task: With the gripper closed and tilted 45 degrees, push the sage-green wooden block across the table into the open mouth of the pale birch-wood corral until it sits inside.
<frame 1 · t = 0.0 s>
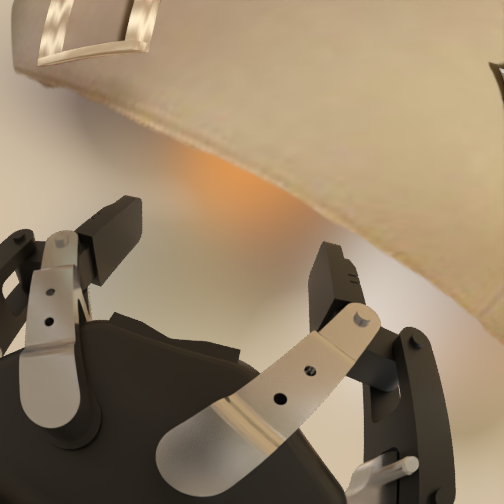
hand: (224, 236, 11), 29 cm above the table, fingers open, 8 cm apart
birch corral: (102, 20, 26), on the table
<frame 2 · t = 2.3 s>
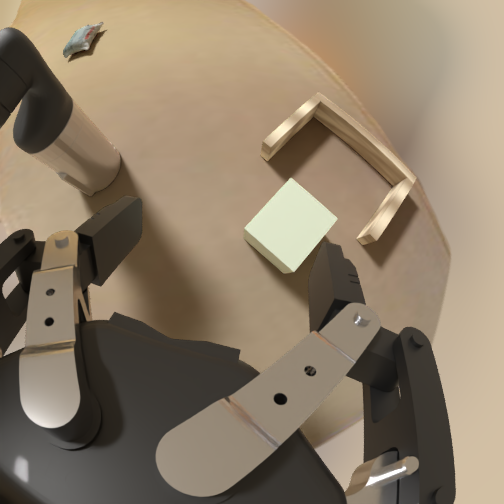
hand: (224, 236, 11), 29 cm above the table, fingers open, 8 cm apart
sage block: (282, 233, 41), on the table
packaged food: (86, 44, 45), on the table
birch corral: (337, 170, 43), on the table
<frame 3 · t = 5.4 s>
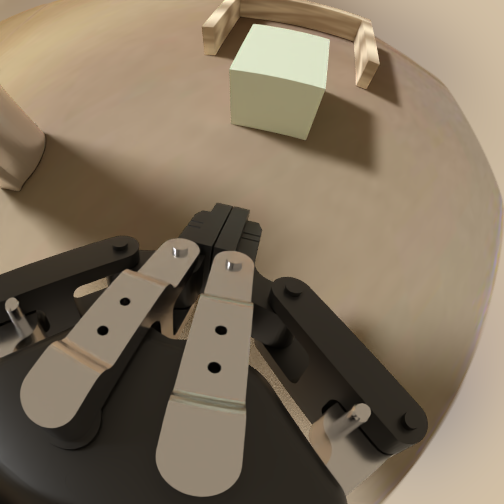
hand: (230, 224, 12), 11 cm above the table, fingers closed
sage block: (275, 103, 27), on the table
birch corral: (293, 40, 30), on the table
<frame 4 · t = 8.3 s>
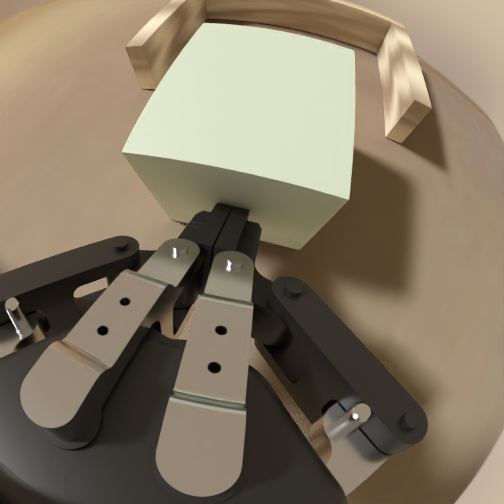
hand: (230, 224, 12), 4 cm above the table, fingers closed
sage block: (251, 169, 17), on the table, touching gripper
birch corral: (284, 53, 20), on the table
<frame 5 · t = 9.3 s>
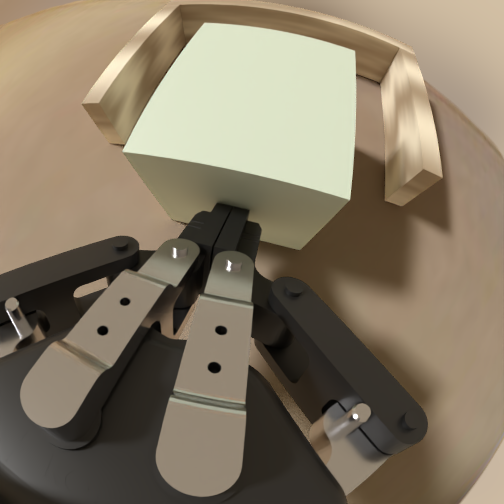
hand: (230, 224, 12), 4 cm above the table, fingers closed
sage block: (252, 169, 17), on the table
birch corral: (272, 90, 19), on the table
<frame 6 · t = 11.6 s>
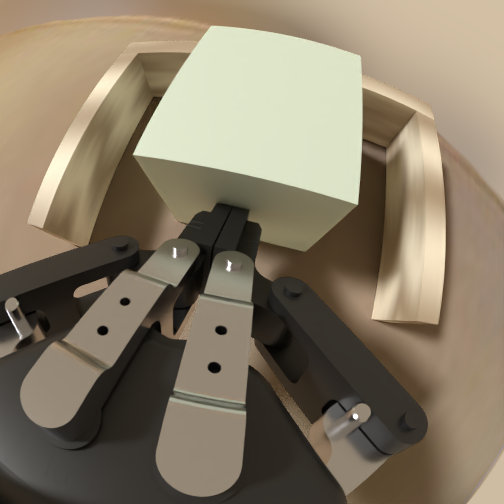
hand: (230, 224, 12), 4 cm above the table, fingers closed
sage block: (257, 172, 17), on the table
birch corral: (250, 175, 17), on the table
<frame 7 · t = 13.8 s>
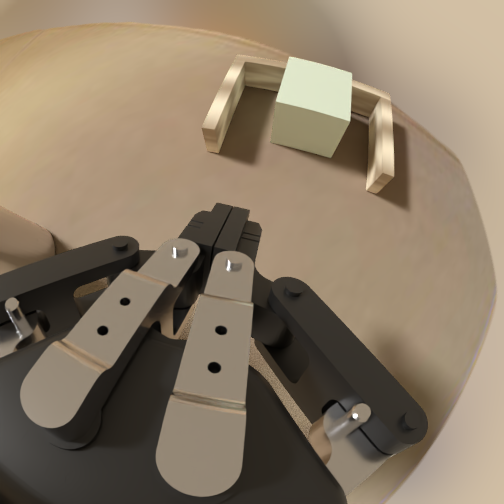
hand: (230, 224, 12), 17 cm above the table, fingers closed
sage block: (305, 124, 33), on the table
birch corral: (303, 125, 33), on the table
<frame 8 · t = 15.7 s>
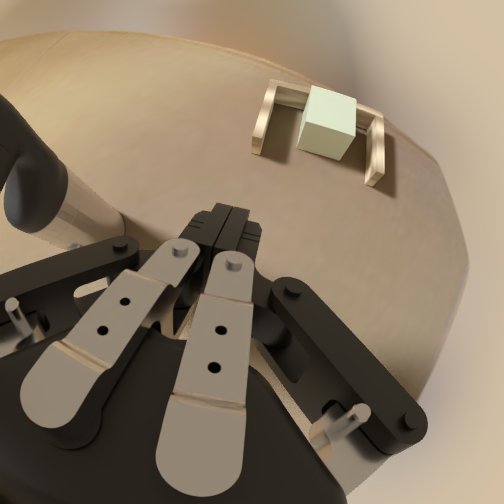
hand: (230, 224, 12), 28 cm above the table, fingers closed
sage block: (320, 135, 46), on the table
birch corral: (319, 136, 45), on the table
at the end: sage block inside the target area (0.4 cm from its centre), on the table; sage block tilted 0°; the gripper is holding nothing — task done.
